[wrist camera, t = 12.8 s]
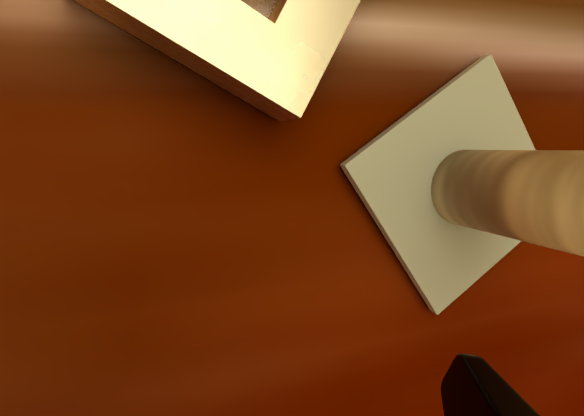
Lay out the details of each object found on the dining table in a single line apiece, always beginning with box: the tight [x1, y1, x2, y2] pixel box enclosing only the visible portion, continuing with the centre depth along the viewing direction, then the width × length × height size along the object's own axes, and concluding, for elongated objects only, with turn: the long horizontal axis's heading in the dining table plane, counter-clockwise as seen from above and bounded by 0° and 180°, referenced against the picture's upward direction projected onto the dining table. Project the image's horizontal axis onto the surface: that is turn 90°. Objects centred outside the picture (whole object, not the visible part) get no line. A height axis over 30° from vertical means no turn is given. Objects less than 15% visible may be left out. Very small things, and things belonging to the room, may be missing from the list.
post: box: [431, 150, 584, 256], centre depth 19 cm, size 4×4×10 cm
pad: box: [340, 54, 535, 315], centre depth 24 cm, size 10×10×1 cm
